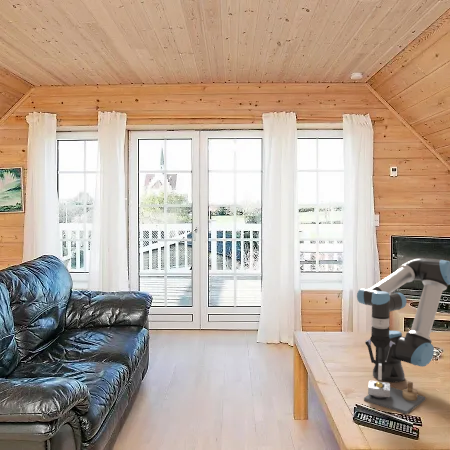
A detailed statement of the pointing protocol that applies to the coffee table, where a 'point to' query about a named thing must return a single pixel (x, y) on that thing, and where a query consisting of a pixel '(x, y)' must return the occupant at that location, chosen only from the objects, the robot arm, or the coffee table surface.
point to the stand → (410, 392)
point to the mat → (396, 401)
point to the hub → (379, 384)
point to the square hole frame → (379, 389)
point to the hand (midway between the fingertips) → (379, 378)
